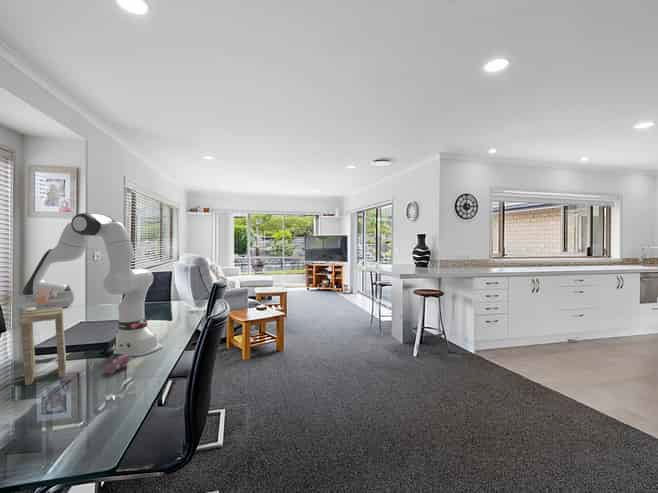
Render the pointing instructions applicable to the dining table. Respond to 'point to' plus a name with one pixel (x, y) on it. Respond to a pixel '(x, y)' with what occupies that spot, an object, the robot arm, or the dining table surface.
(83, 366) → the dining table surface
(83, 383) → the dining table surface
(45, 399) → the dining table surface
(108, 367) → the video game controller
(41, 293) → the terracotta bar
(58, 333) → the wooden stand
